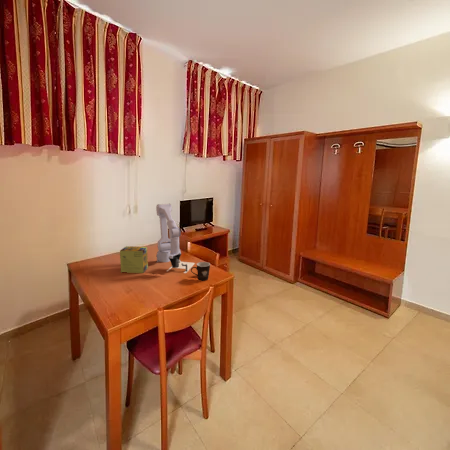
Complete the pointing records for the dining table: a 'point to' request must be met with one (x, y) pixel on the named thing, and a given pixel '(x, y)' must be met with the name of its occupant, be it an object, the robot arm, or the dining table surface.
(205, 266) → the coffee mug
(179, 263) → the shelf board
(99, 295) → the dining table surface
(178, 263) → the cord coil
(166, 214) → the robot arm
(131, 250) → the protein box
